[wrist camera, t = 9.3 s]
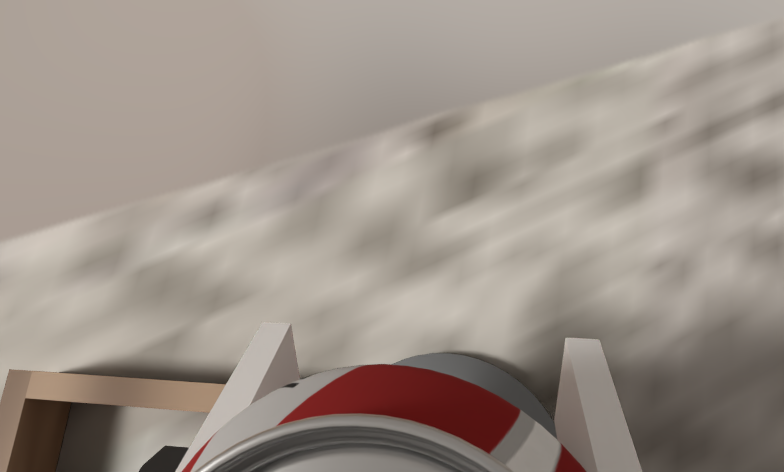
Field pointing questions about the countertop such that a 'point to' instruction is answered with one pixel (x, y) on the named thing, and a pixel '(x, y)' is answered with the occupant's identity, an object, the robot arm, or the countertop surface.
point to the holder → (57, 390)
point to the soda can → (382, 428)
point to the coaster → (485, 381)
